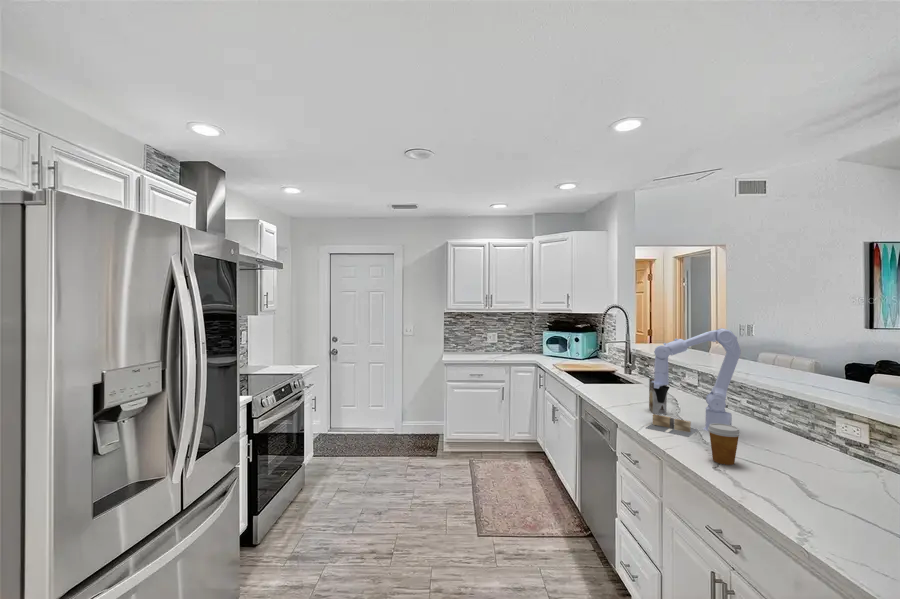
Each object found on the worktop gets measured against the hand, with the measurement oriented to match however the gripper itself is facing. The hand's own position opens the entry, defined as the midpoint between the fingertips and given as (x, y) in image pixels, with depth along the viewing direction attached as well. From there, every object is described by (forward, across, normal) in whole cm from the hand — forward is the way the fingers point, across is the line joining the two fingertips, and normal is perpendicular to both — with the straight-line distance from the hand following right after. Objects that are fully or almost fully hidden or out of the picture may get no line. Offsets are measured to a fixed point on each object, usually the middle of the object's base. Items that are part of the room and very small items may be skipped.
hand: (661, 402), depth 193 cm
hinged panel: (+9, +6, +3) cm, 11 cm away
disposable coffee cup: (+10, +34, +30) cm, 46 cm away
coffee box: (+10, -22, -8) cm, 26 cm away
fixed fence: (+10, +6, +10) cm, 15 cm away
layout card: (+10, +6, +6) cm, 13 cm away
